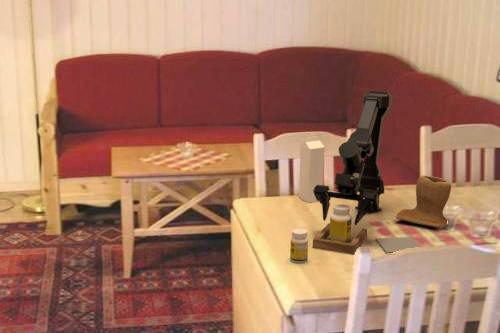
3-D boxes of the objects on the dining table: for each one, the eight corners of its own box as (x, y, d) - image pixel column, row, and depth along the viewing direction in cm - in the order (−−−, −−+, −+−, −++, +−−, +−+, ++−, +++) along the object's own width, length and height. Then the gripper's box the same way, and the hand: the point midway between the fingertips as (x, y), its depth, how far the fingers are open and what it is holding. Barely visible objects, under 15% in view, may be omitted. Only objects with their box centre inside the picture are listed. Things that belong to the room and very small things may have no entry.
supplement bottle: (289, 256, 206) (289, 228, 203) (305, 256, 206) (306, 227, 204) (291, 263, 201) (292, 234, 199) (308, 263, 201) (309, 234, 199)
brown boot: (454, 222, 235) (458, 176, 231) (441, 233, 225) (445, 185, 221) (409, 213, 243) (412, 168, 239) (394, 223, 233) (397, 177, 229)
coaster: (375, 240, 219) (375, 238, 218) (411, 238, 220) (411, 236, 220) (386, 254, 208) (386, 252, 208) (424, 252, 209) (424, 250, 209)
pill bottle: (349, 247, 213) (351, 211, 210) (328, 245, 214) (329, 209, 211) (351, 240, 219) (353, 204, 216) (330, 238, 220) (331, 202, 217)
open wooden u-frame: (328, 231, 226) (328, 223, 225) (367, 236, 221) (367, 228, 220) (312, 247, 212) (312, 239, 212) (353, 254, 208) (353, 246, 207)
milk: (322, 200, 254) (325, 138, 249) (308, 203, 252) (310, 139, 246) (312, 195, 260) (315, 134, 254) (298, 198, 257) (300, 136, 251)
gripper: (316, 158, 217) (302, 204, 210) (379, 165, 210) (367, 213, 203) (323, 177, 226) (310, 222, 219) (384, 184, 219) (372, 231, 212)
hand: (339, 222), depth 213 cm, fingers open, 9 cm apart
